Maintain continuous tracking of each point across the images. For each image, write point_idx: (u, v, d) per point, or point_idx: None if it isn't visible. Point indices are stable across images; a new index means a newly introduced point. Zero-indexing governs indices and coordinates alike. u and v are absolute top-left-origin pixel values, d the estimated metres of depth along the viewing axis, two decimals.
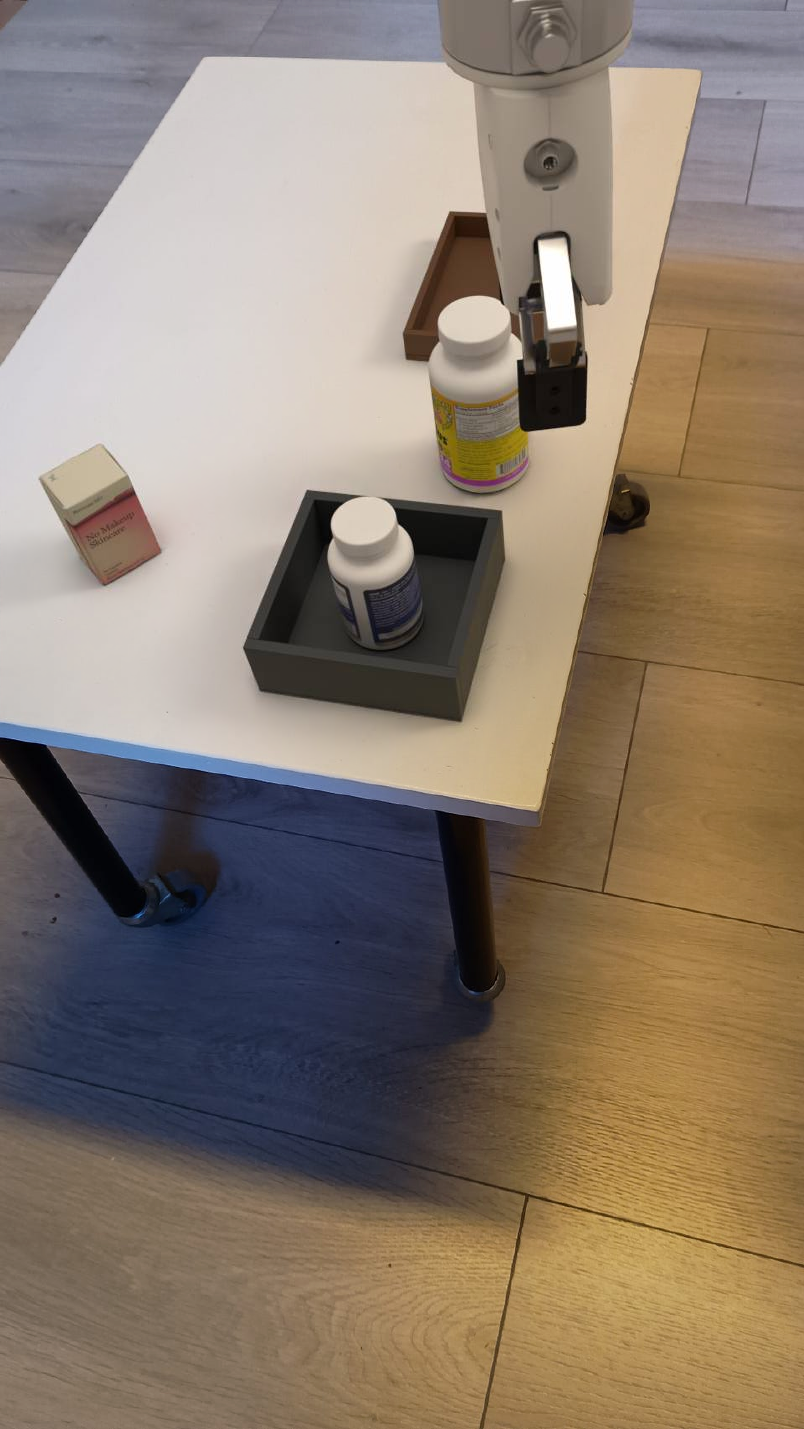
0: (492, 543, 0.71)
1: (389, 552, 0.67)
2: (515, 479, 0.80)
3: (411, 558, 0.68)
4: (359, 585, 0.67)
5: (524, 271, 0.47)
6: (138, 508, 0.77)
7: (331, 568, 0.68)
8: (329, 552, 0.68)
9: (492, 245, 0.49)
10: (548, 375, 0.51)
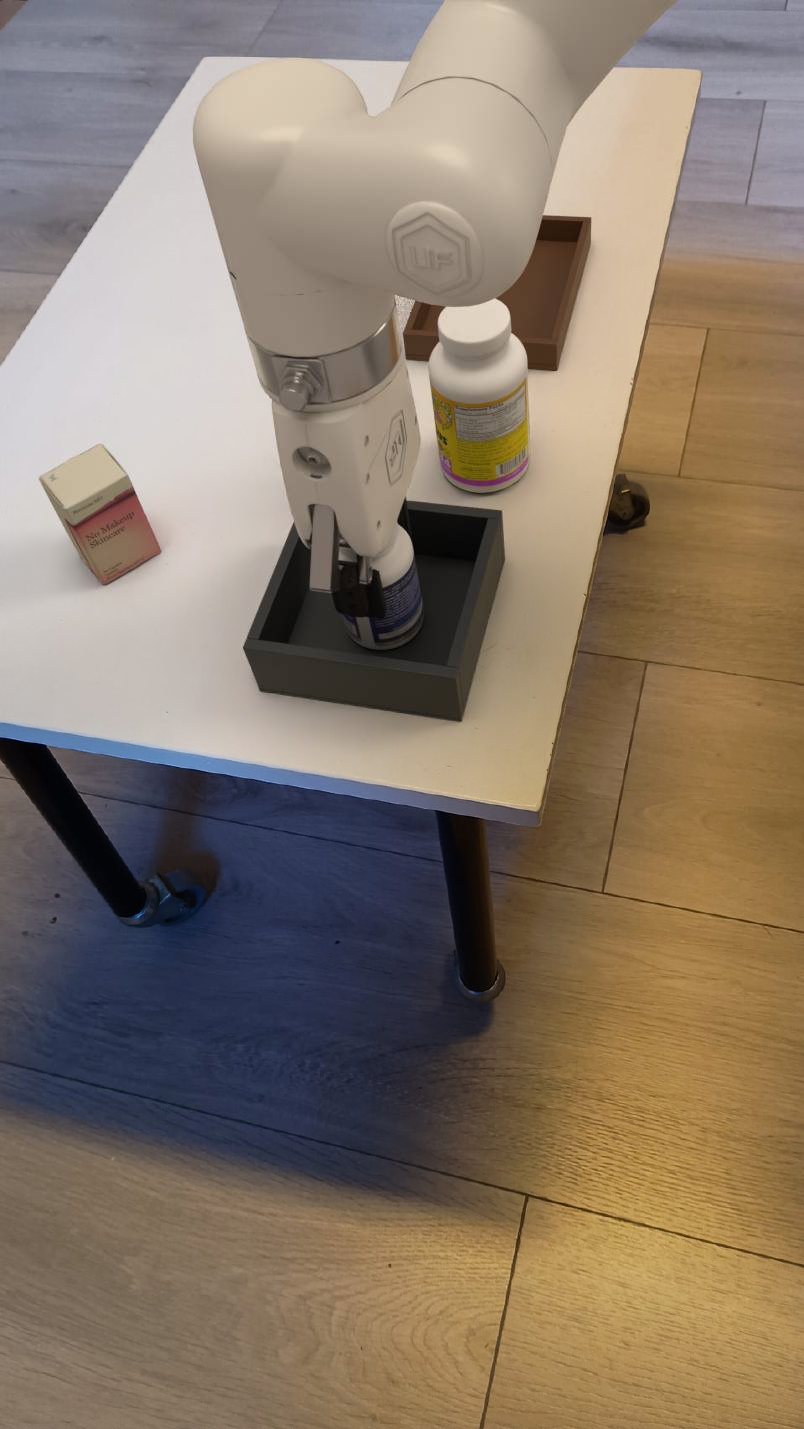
0: (492, 543, 0.71)
1: (389, 552, 0.67)
2: (515, 479, 0.80)
3: (411, 558, 0.68)
4: None
5: (310, 535, 0.61)
6: (138, 508, 0.77)
7: None
8: None
9: None
10: None
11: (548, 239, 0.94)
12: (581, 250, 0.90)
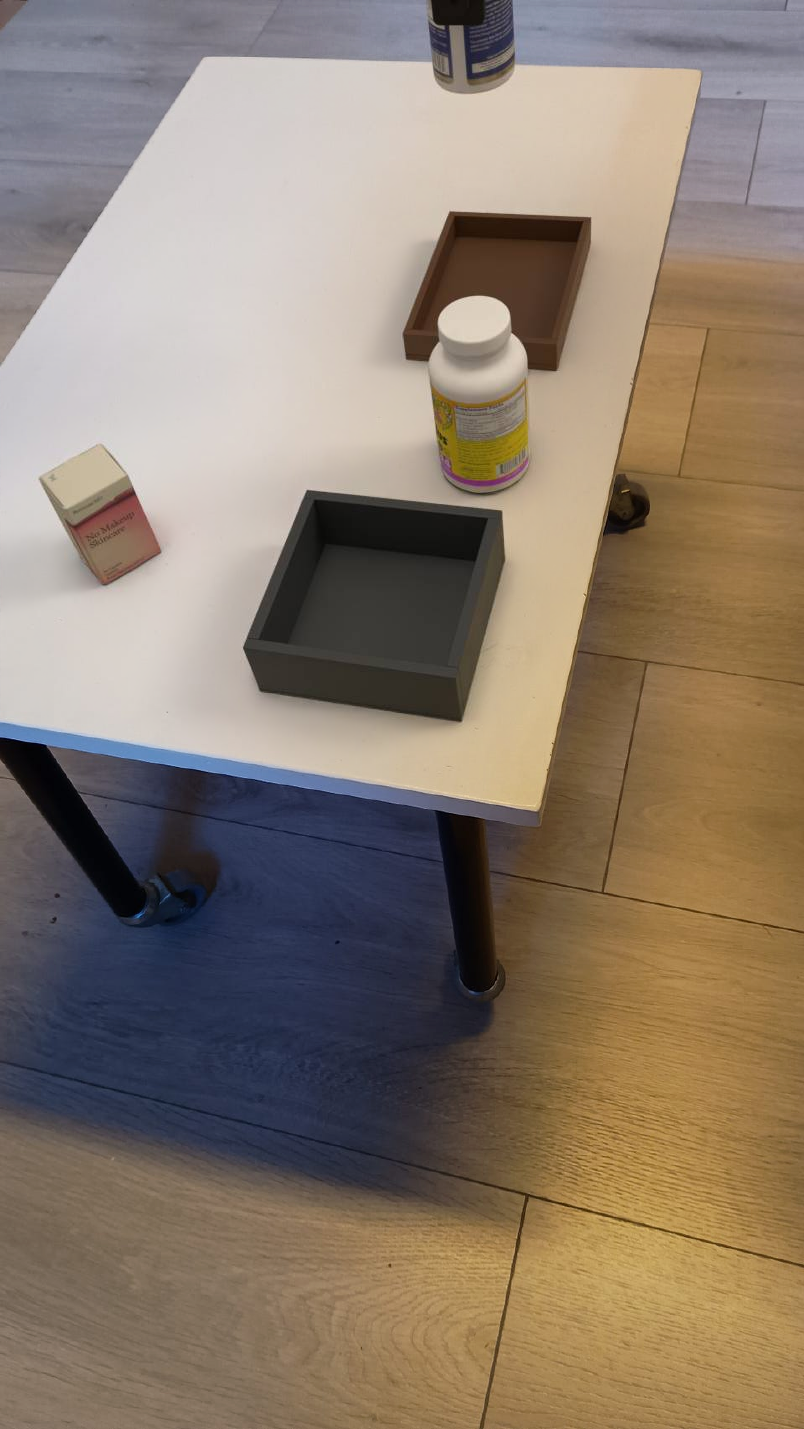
0: (492, 543, 0.71)
1: None
2: (515, 479, 0.80)
3: None
4: None
5: None
6: (138, 508, 0.77)
7: None
8: None
9: None
10: None
11: (548, 239, 0.94)
12: (581, 250, 0.90)
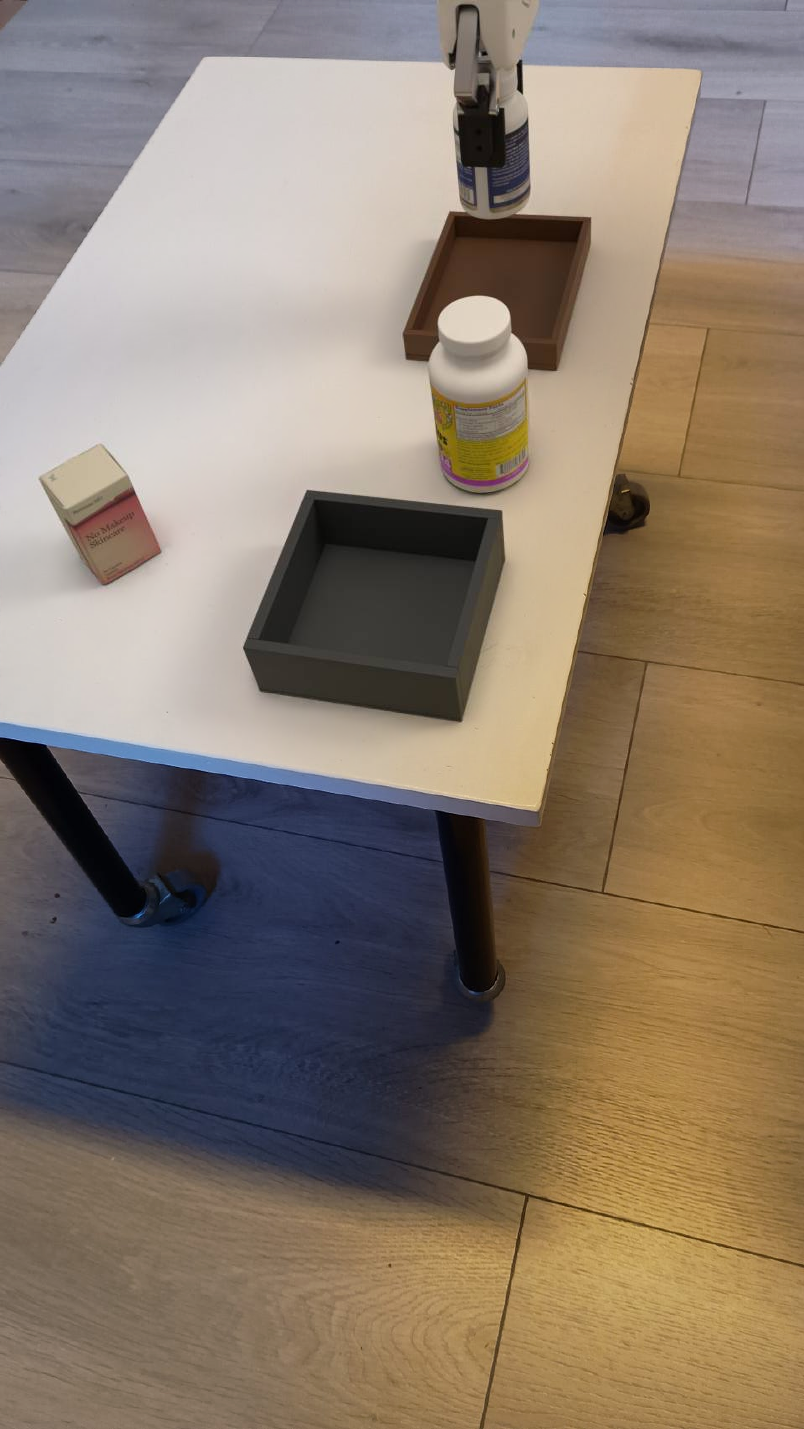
0: (492, 543, 0.71)
1: (509, 101, 0.77)
2: (515, 479, 0.80)
3: (527, 113, 0.78)
4: None
5: (452, 49, 0.71)
6: (138, 508, 0.77)
7: (457, 122, 0.78)
8: (455, 109, 0.79)
9: None
10: (473, 118, 0.75)
11: (548, 239, 0.94)
12: (581, 250, 0.90)
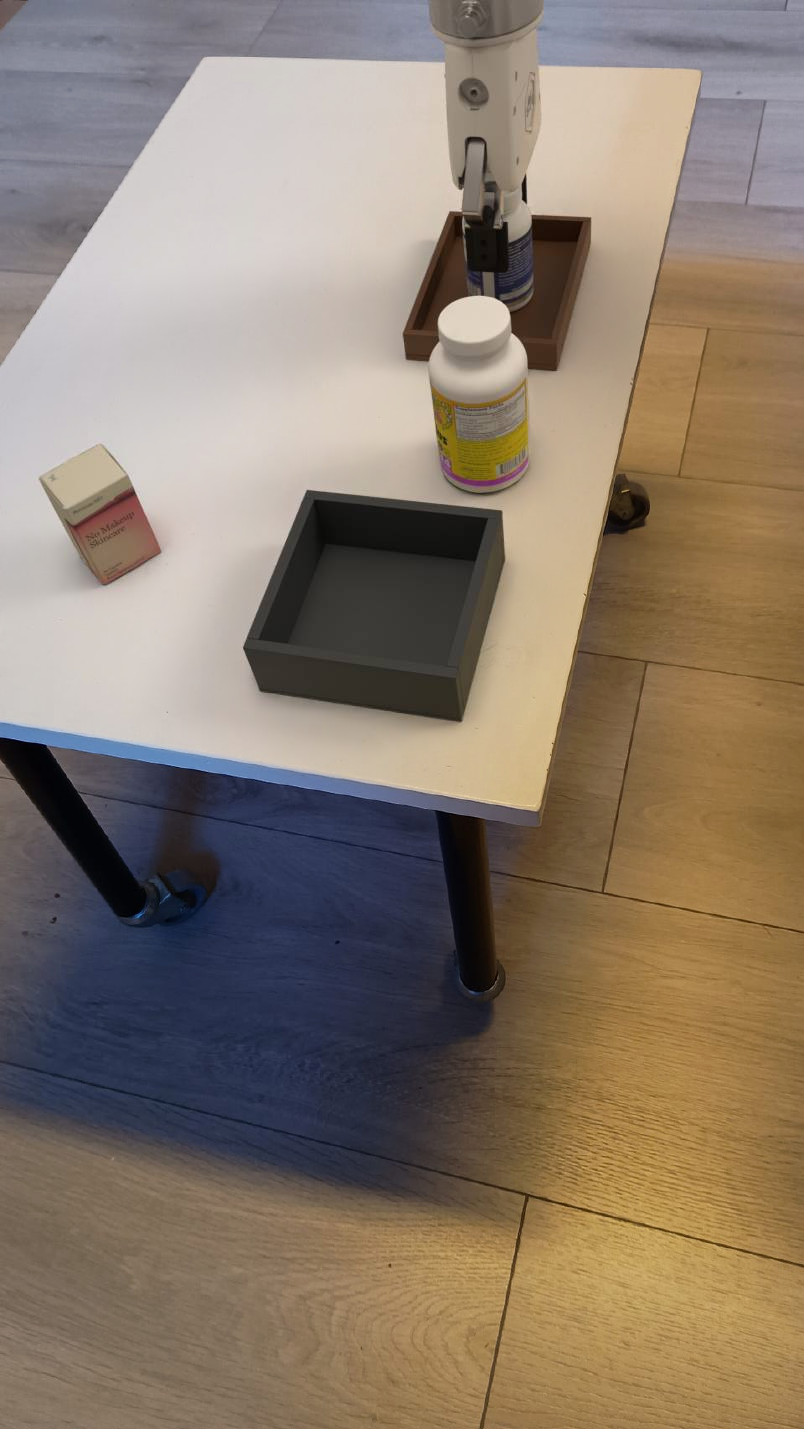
0: (492, 543, 0.71)
1: (514, 212, 0.84)
2: (515, 479, 0.80)
3: (530, 221, 0.85)
4: None
5: (461, 170, 0.78)
6: (138, 508, 0.77)
7: None
8: None
9: None
10: (479, 231, 0.82)
11: (548, 239, 0.94)
12: (581, 250, 0.90)
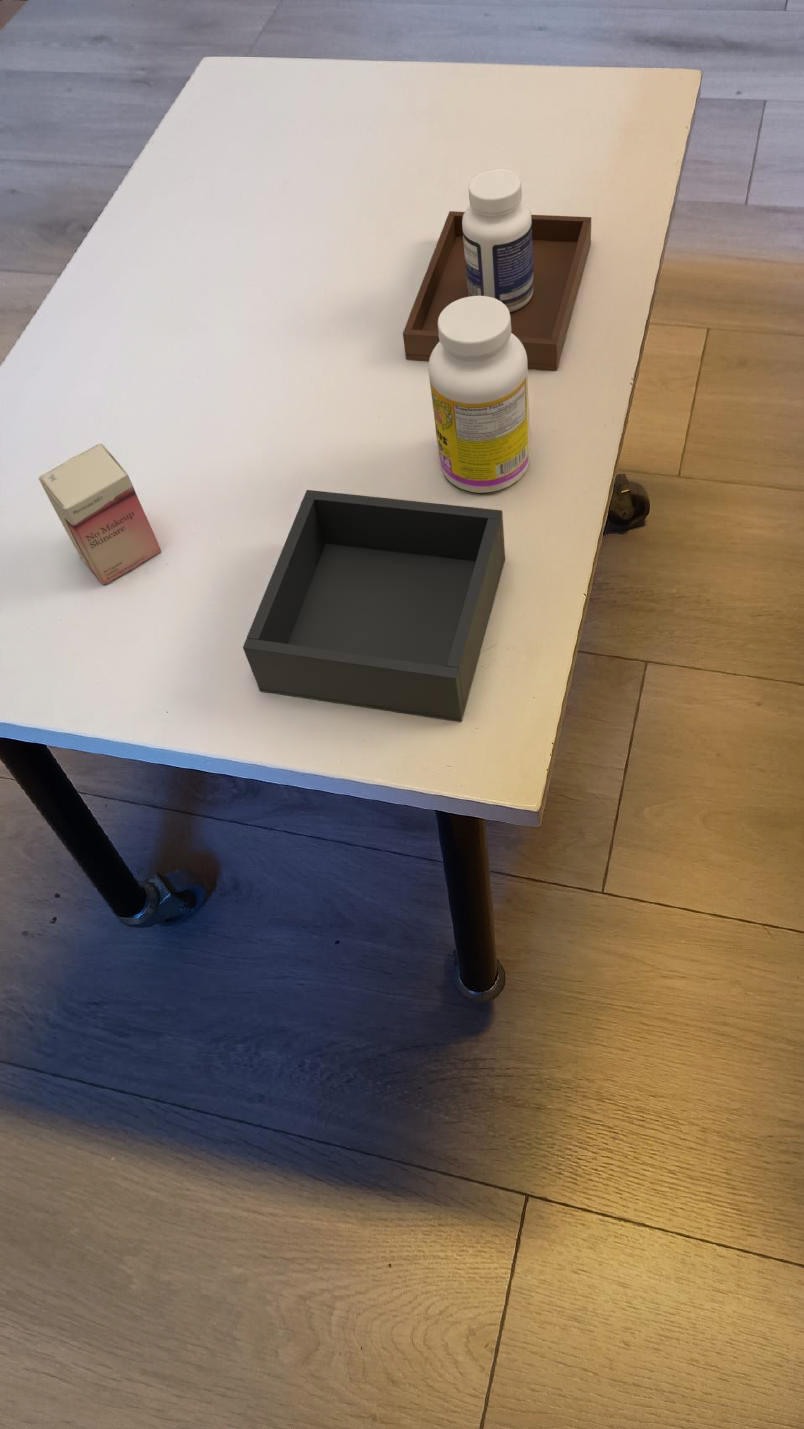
0: (492, 543, 0.71)
1: (514, 212, 0.84)
2: (515, 479, 0.80)
3: (530, 221, 0.85)
4: (490, 240, 0.84)
5: None
6: (138, 508, 0.77)
7: (466, 229, 0.85)
8: (464, 218, 0.85)
9: None
10: None
11: (548, 239, 0.94)
12: (581, 250, 0.90)
